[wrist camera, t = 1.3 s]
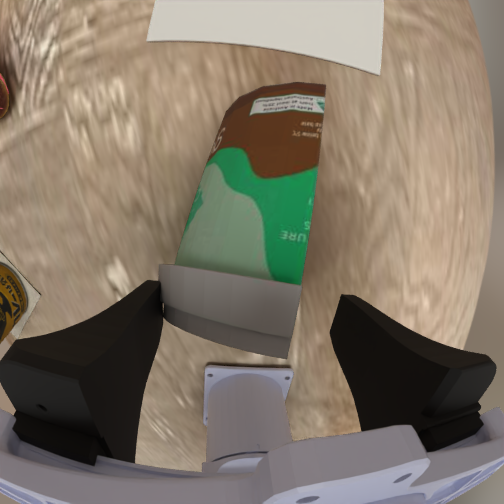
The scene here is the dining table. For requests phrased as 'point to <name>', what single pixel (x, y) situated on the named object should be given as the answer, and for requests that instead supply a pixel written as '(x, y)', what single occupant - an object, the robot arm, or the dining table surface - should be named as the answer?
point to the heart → (3, 97)
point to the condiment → (14, 299)
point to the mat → (279, 27)
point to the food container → (250, 223)
